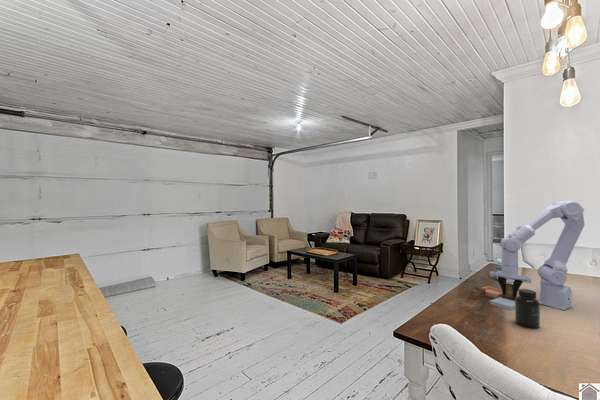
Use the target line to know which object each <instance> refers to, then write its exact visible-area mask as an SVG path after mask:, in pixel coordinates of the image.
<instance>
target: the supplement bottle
mask: <svg viewBox="0 0 600 400" xmlns="http://www.w3.org/2000/svg"><path fill="white" fill-rule="evenodd" d="M536 298H537V292H536V291H534V290H532V289H528V288H519V290H518V293H517V297H516V299H515V309H514V318H515V319H514V321H515V323H516V324H517V325H519V326H521V327H523V328H528V329H538V328H540V325H541V323H540V322H541V319H540V318H541V313H540V312H541V308H540V306H541V304H540V303H539V300H538V299H536Z"/></svg>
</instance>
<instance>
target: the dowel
mask: <svg viewBox="0 0 600 400" xmlns="http://www.w3.org/2000/svg"><path fill="white" fill-rule="evenodd" d="M513 295H514V285H513V283H508V282H506V284H505V298H506V299H510V300H514V296H513Z"/></svg>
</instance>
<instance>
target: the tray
mask: <svg viewBox="0 0 600 400" xmlns="http://www.w3.org/2000/svg"><path fill="white" fill-rule="evenodd" d="M482 288H484V289H485V297H486V296H487V297H490V298H493V299H496V298H497V296H501V295H503V292H502V289H501V288H496V287H492V286H489V285H488V286H483V287H482Z"/></svg>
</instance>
